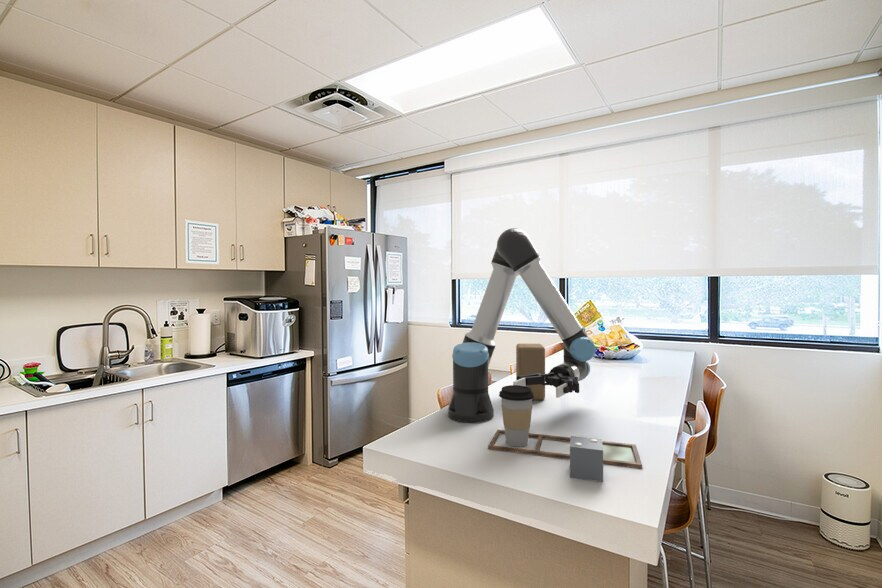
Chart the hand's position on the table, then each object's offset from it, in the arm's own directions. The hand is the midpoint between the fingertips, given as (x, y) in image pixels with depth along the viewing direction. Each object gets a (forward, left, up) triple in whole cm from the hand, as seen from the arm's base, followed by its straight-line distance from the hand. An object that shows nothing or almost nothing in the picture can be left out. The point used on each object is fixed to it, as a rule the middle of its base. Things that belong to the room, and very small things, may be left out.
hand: (534, 389), depth 121 cm
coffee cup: (-4, -9, -13) cm, 16 cm away
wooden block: (-6, +39, -13) cm, 41 cm away
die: (+14, -22, -13) cm, 29 cm away
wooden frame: (+8, -9, -13) cm, 18 cm away
